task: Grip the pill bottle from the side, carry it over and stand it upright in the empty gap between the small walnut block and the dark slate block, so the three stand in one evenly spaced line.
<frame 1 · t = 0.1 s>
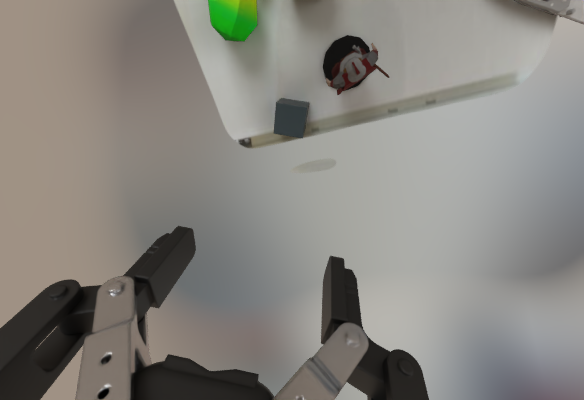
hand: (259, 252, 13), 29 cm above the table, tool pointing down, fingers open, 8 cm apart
slate block: (293, 115, 37), on the table
figurine: (347, 66, 33), on the table
apple: (243, 4, 31), on the table
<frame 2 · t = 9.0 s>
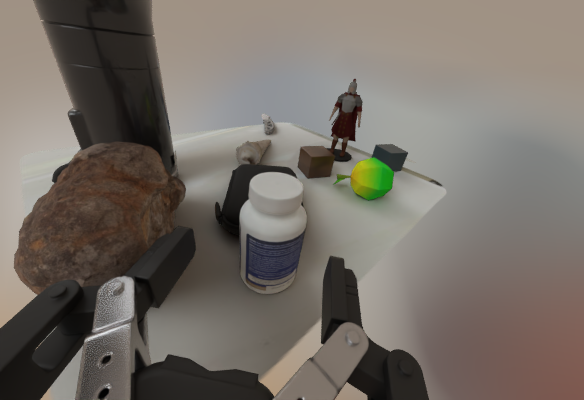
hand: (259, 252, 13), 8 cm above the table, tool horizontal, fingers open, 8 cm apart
slate block: (384, 166, 48), on the table
pill bottle: (268, 272, 22), on the table
knife: (260, 121, 62), point 1 cm above the table
walnut block: (313, 171, 42), on the table
figurine: (336, 155, 51), on the table
rock: (194, 211, 20), point 5 cm above the table
apple: (358, 195, 37), on the table
carrying case: (260, 205, 31), on the table
seashell: (255, 156, 45), on the table
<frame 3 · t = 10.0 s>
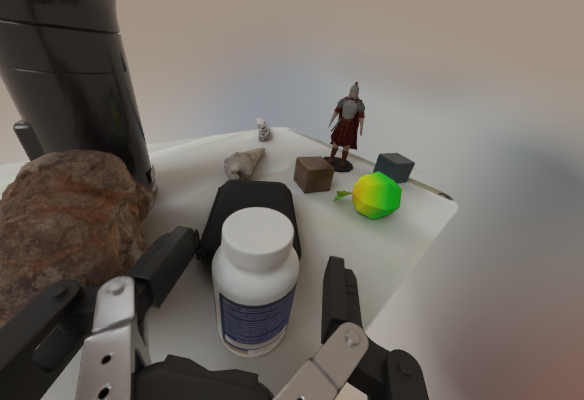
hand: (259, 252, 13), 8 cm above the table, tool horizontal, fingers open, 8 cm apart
slate block: (389, 177, 44), on the table
pill bottle: (253, 322, 18), on the table
knife: (255, 127, 58), point 1 cm above the table
walnut block: (311, 184, 38), on the table
figurine: (336, 164, 47), on the table
rock: (167, 218, 19), point 5 cm above the table, touching gripper
apple: (361, 213, 33), on the table
carrying case: (249, 229, 27), on the table
seashell: (247, 166, 41), on the table
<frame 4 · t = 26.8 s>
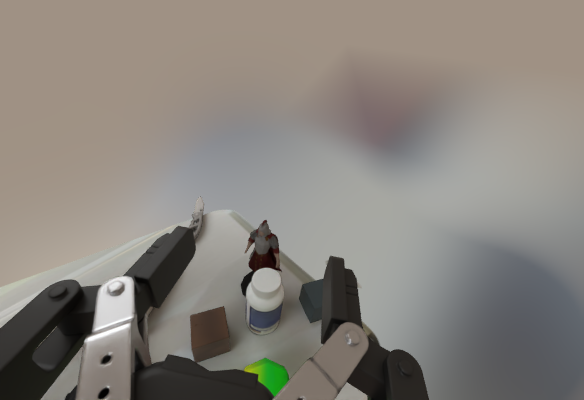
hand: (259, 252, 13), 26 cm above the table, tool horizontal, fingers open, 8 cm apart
slate block: (316, 306, 39), on the table
pill bottle: (262, 318, 36), on the table, touching figurine
knife: (188, 217, 53), point 1 cm above the table
walnut block: (211, 340, 33), on the table
figurine: (260, 285, 41), on the table, touching pill bottle
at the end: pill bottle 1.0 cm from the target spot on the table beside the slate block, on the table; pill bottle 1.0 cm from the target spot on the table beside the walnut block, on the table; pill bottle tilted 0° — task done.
